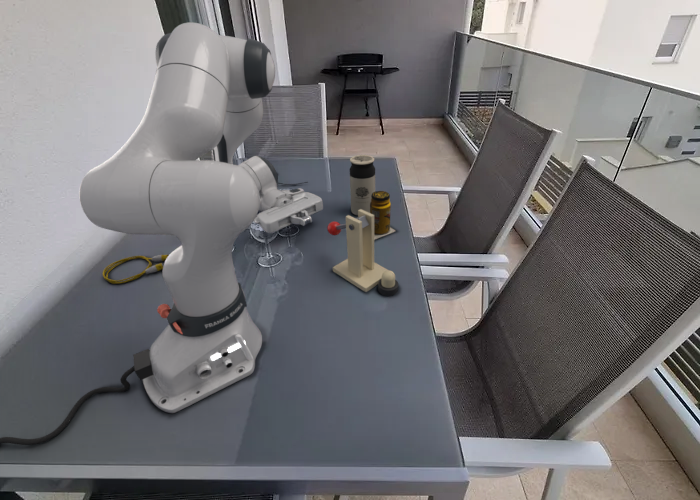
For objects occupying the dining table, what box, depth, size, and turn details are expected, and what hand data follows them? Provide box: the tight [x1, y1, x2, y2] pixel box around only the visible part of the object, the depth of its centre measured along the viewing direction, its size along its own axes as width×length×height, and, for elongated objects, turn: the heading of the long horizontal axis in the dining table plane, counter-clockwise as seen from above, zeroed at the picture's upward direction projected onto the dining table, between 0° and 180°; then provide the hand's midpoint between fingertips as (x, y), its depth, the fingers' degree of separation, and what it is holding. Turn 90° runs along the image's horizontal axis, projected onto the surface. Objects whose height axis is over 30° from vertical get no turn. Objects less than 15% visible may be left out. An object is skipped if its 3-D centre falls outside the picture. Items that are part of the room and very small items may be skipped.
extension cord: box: [102, 254, 170, 285], centre depth 93 cm, size 12×16×2 cm
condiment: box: [370, 190, 396, 241], centre depth 102 cm, size 7×8×12 cm
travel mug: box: [349, 154, 376, 216], centre depth 111 cm, size 8×8×18 cm
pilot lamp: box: [377, 269, 399, 297], centre depth 82 cm, size 5×5×5 cm
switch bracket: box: [332, 209, 388, 293], centre depth 84 cm, size 12×9×17 cm
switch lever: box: [326, 215, 369, 236], centre depth 85 cm, size 14×4×4 cm, turn 43°
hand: (307, 221), depth 98 cm, fingers closed
